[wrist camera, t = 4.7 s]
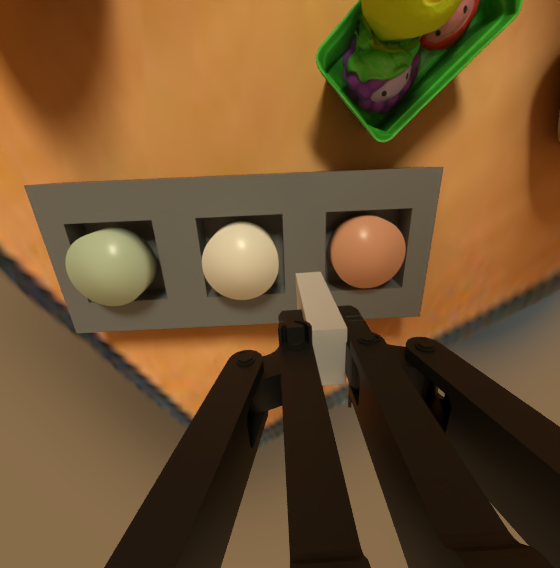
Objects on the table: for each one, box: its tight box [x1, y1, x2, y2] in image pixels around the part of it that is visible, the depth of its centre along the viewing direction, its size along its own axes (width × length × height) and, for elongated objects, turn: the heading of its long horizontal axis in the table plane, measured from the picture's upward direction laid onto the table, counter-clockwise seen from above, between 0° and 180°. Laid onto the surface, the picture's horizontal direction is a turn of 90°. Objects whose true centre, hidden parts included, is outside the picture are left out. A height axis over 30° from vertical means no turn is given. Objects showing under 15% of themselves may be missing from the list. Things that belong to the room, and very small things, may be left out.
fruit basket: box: [316, 0, 523, 143], centre depth 17 cm, size 11×9×11 cm
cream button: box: [202, 221, 279, 300], centre depth 24 cm, size 6×6×2 cm
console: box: [24, 167, 443, 333], centre depth 26 cm, size 13×32×4 cm, turn 92°
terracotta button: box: [327, 213, 406, 288], centre depth 25 cm, size 6×6×2 cm
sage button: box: [65, 227, 157, 306], centre depth 24 cm, size 6×6×2 cm
